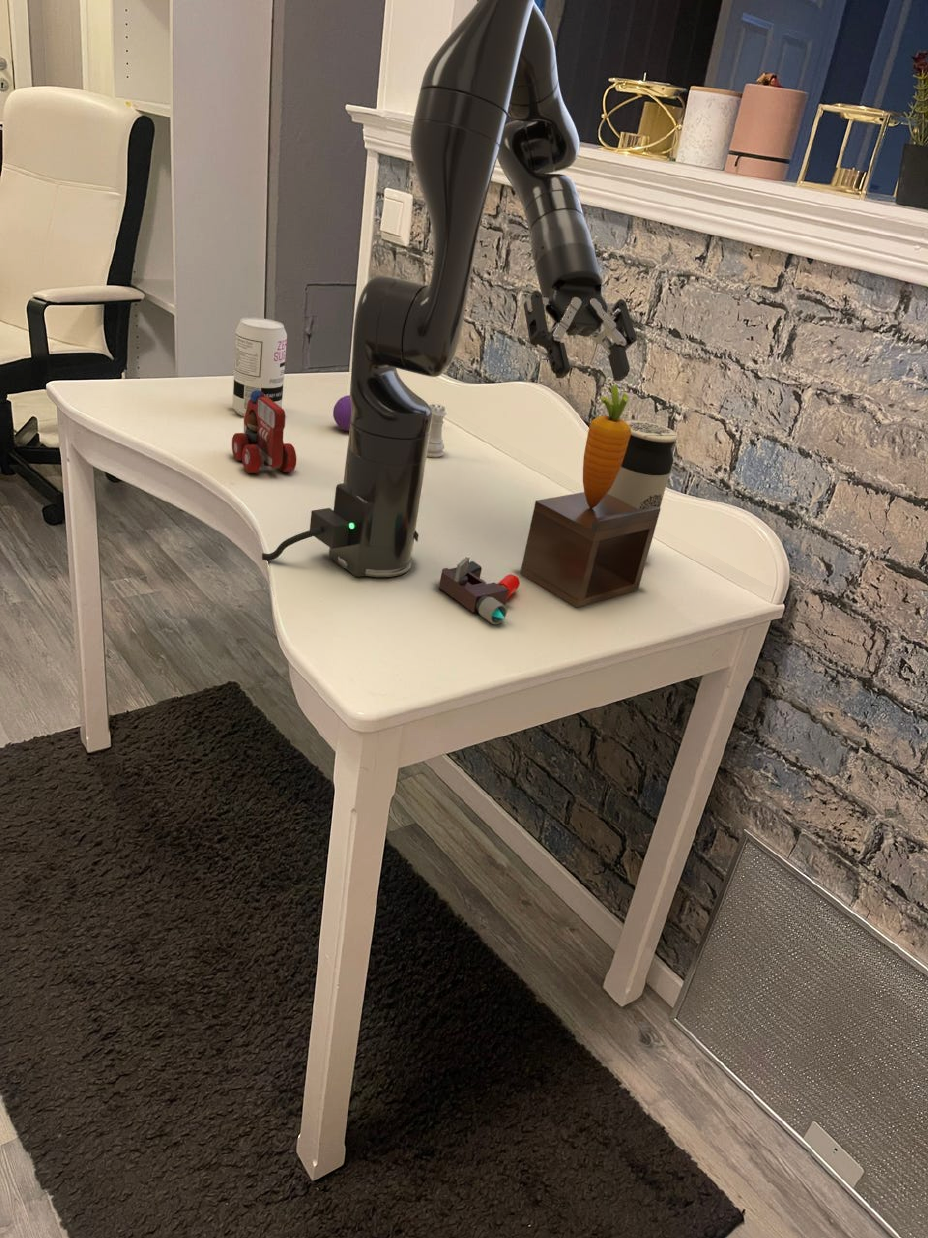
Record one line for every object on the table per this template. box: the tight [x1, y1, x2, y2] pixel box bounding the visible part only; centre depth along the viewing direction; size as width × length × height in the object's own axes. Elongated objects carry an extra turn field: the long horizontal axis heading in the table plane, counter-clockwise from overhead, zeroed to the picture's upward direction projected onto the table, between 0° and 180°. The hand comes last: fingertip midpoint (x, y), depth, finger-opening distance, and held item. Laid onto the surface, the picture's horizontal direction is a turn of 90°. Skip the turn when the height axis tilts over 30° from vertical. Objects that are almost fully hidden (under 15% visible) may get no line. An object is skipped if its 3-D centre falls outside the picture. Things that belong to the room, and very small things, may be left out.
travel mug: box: [607, 420, 679, 510], centre depth 127 cm, size 8×8×18 cm
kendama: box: [332, 394, 351, 432], centre depth 163 cm, size 6×6×20 cm
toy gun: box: [438, 556, 521, 625], centre depth 111 cm, size 10×12×5 cm
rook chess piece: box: [426, 403, 447, 459], centre depth 154 cm, size 4×4×8 cm
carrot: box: [582, 384, 631, 508], centre depth 113 cm, size 5×5×15 cm
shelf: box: [519, 491, 661, 609], centre depth 118 cm, size 12×10×11 cm
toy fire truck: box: [231, 390, 297, 474], centre depth 136 cm, size 7×12×10 cm, turn 30°
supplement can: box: [231, 317, 288, 417], centre depth 156 cm, size 8×8×15 cm
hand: (593, 376), depth 114 cm, fingers open, 8 cm apart
